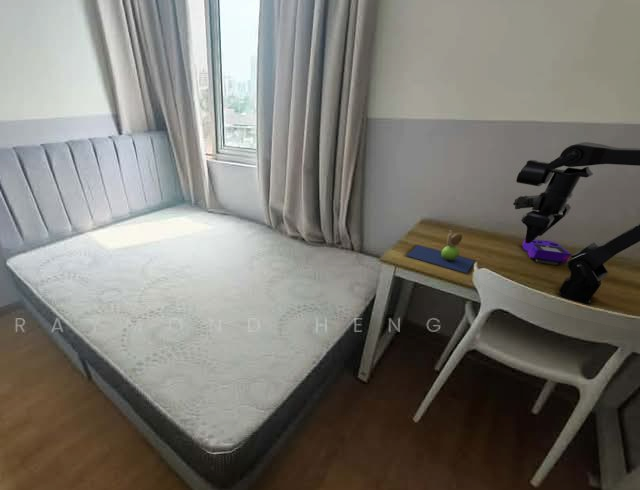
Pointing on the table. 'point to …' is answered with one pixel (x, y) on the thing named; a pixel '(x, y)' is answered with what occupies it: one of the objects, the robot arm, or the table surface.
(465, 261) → the navy cloth
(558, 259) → the handheld gaming console
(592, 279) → the robot arm
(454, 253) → the snail figurine
